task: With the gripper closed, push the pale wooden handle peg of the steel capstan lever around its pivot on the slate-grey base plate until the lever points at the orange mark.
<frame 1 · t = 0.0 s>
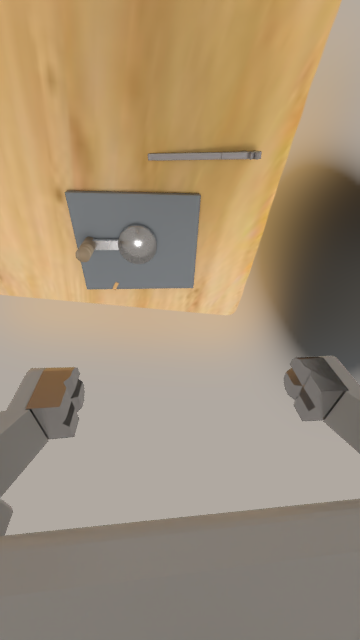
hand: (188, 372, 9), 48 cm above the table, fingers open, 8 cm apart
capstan: (119, 249, 48), point 6 cm above the table, hinge at 0.0°
caliper: (201, 155, 45), on the table
base plate: (138, 243, 54), on the table
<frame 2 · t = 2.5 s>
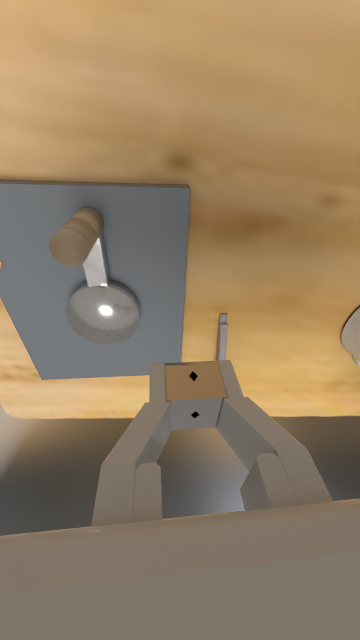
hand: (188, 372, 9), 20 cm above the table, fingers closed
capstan: (94, 298, 24), point 6 cm above the table, hinge at 0.0°
caliper: (217, 360, 40), on the table
base plate: (100, 298, 30), on the table
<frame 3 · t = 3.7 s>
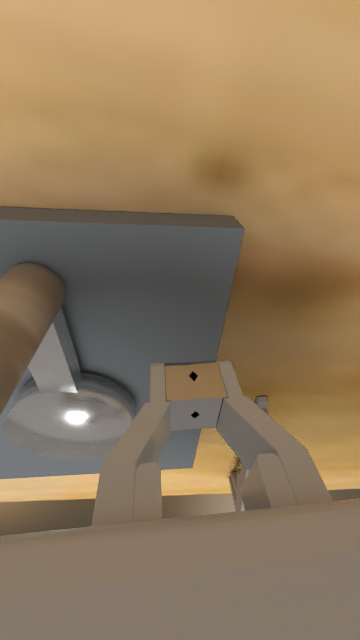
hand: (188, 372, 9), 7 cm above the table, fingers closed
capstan: (48, 429, 12), point 6 cm above the table, hinge at 0.0°
caliper: (242, 441, 29), on the table
base plate: (74, 382, 19), on the table
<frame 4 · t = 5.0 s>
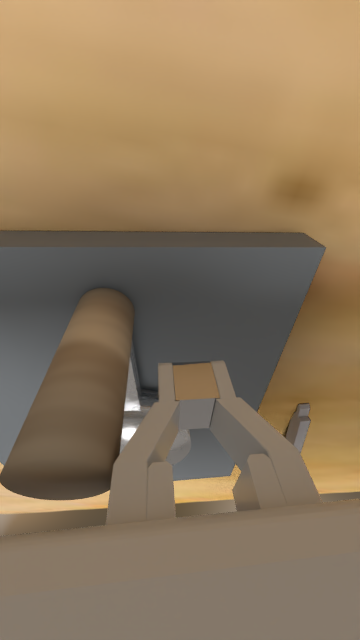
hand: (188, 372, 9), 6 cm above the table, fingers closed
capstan: (120, 449, 12), point 6 cm above the table, hinge at 2.3°, touching gripper
caliper: (276, 447, 29), on the table
base plate: (122, 396, 19), on the table
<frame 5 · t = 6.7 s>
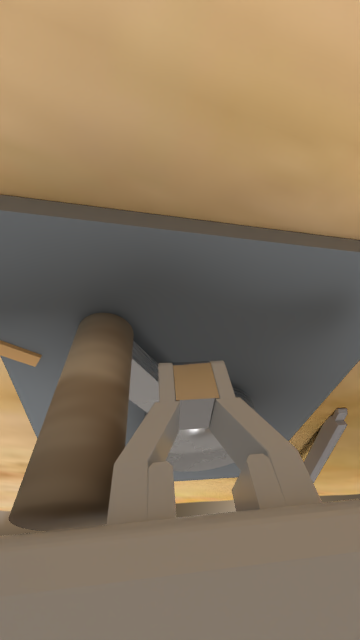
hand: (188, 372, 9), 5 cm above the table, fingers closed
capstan: (179, 453, 12), point 6 cm above the table, hinge at 38.4°, touching gripper
caliper: (298, 449, 30), on the table
base plate: (182, 391, 19), on the table
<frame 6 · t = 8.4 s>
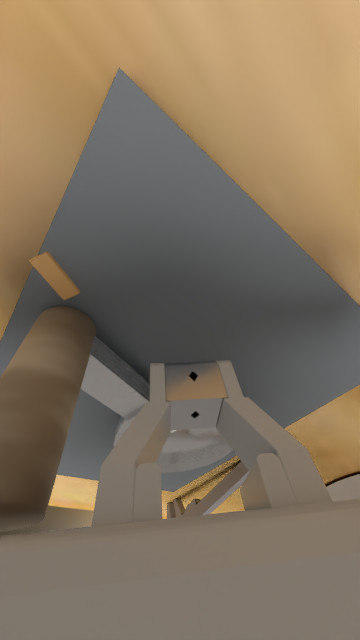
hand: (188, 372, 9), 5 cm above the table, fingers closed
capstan: (143, 452, 12), point 6 cm above the table, hinge at 67.2°
caliper: (211, 474, 32), on the table
base plate: (162, 387, 18), on the table
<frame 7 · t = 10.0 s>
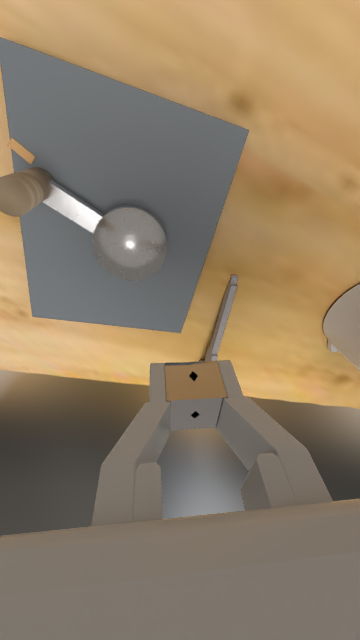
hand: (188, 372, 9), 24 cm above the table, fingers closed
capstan: (97, 233, 23), point 6 cm above the table, hinge at 67.2°
caliper: (213, 326, 41), on the table
base plate: (123, 233, 29), on the table
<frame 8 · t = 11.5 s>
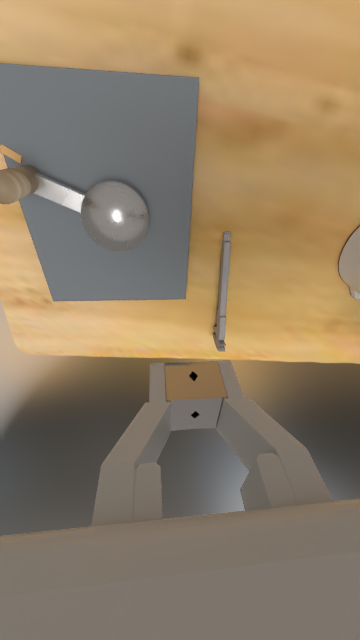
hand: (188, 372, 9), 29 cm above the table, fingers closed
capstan: (81, 209, 26), point 6 cm above the table, hinge at 67.2°
caliper: (219, 289, 42), on the table
base plate: (111, 211, 32), on the table
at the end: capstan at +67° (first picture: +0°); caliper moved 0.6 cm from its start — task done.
